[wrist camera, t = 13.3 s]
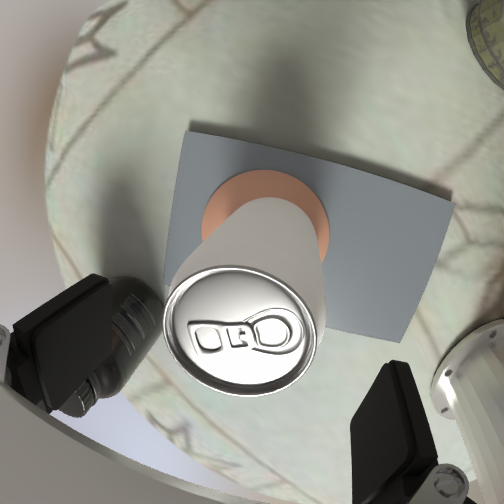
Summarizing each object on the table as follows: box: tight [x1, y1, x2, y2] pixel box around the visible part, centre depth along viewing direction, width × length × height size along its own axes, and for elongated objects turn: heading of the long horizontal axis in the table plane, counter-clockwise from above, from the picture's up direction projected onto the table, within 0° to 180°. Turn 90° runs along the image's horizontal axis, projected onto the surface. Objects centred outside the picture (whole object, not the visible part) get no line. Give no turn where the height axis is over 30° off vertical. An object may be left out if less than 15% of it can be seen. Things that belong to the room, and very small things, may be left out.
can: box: [162, 197, 327, 397], centre depth 16 cm, size 6×6×12 cm
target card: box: [163, 131, 455, 343], centre depth 22 cm, size 20×12×1 cm, turn 78°
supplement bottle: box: [58, 277, 163, 418], centre depth 21 cm, size 7×7×12 cm
